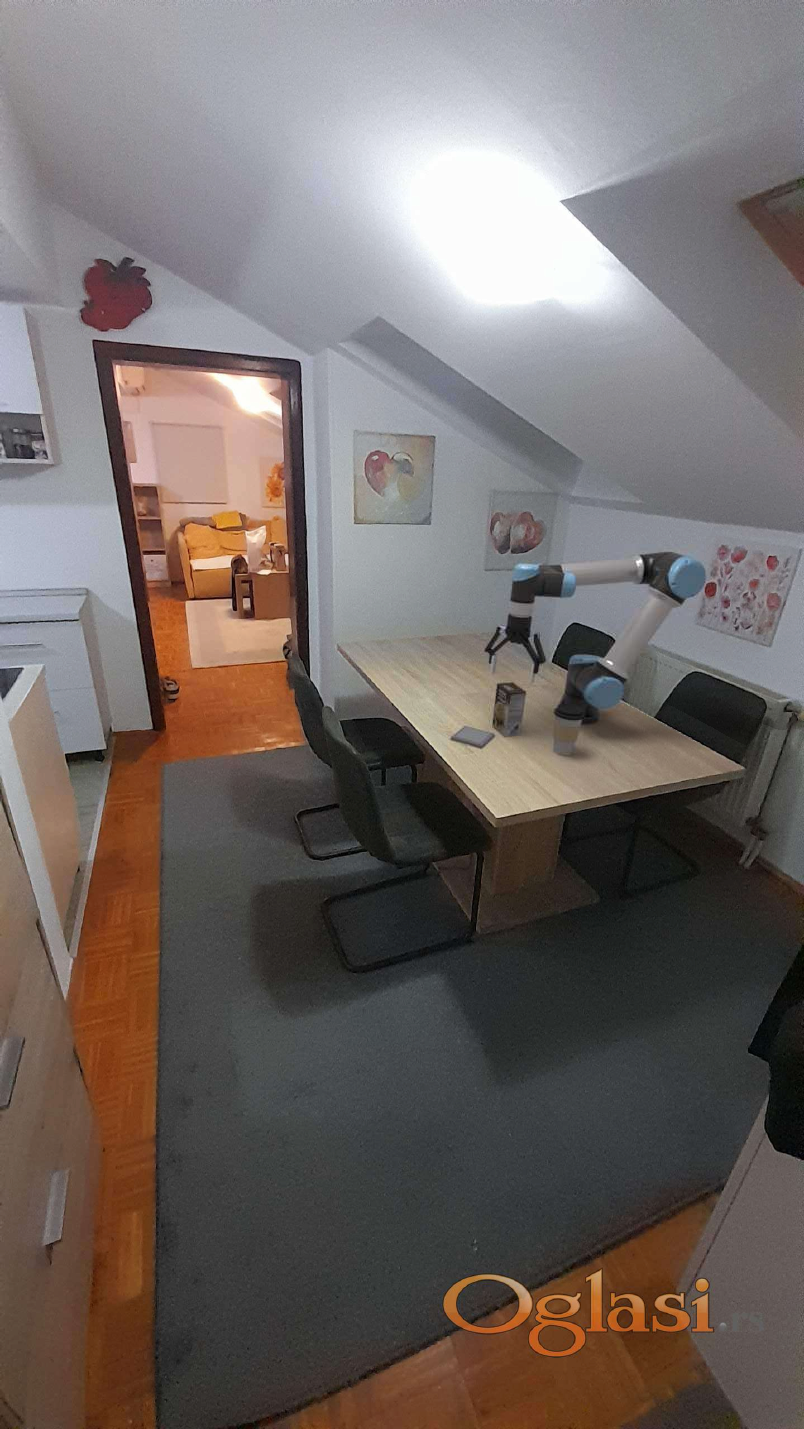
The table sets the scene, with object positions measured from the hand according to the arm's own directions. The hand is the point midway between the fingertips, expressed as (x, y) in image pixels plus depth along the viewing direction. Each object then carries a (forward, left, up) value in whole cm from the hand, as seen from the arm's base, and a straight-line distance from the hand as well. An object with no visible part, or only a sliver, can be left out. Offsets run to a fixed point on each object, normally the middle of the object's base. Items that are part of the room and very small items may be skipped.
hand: (511, 678), depth 193 cm
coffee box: (0, 0, -20) cm, 20 cm away
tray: (+7, +12, -19) cm, 24 cm away
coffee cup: (-21, +4, -20) cm, 29 cm away
